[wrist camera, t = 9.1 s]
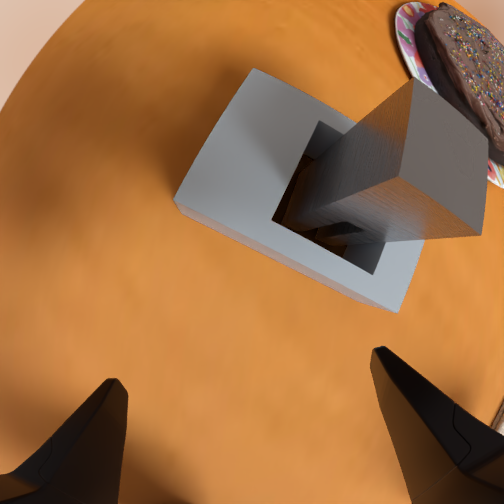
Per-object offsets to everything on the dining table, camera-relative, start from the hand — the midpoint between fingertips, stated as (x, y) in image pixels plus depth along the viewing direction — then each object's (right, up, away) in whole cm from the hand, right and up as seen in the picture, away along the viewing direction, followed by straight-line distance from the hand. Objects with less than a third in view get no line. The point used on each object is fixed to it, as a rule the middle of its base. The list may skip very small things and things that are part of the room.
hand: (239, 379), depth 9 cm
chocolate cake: (+29, +25, +16) cm, 41 cm away
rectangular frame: (+4, +8, +11) cm, 14 cm away
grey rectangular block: (+5, +7, +11) cm, 14 cm away
